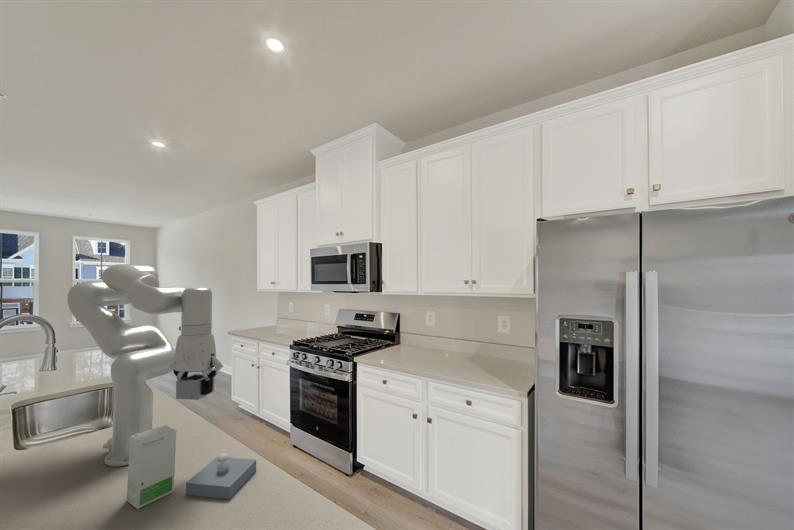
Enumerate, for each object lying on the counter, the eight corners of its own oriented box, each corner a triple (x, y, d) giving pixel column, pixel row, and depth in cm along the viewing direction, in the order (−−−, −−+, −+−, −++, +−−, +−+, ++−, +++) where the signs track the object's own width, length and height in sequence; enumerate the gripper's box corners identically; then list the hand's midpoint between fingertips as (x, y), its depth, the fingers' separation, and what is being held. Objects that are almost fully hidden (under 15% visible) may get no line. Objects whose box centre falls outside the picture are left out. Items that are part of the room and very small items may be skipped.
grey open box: (175, 398, 90) (176, 380, 90) (193, 390, 96) (193, 373, 96) (197, 399, 89) (198, 381, 89) (214, 391, 95) (214, 374, 95)
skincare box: (136, 511, 76) (138, 443, 76) (124, 500, 79) (127, 436, 80) (175, 491, 83) (177, 429, 84) (163, 482, 87) (165, 423, 87)
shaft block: (185, 494, 82) (186, 464, 82) (217, 467, 94) (218, 441, 94) (229, 499, 80) (230, 468, 80) (256, 470, 92) (256, 444, 92)
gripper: (158, 332, 90) (157, 396, 90) (215, 332, 88) (214, 398, 88) (179, 328, 98) (178, 387, 97) (232, 328, 96) (232, 389, 95)
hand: (195, 392), depth 92 cm, fingers closed on grey open box, 6 cm apart
